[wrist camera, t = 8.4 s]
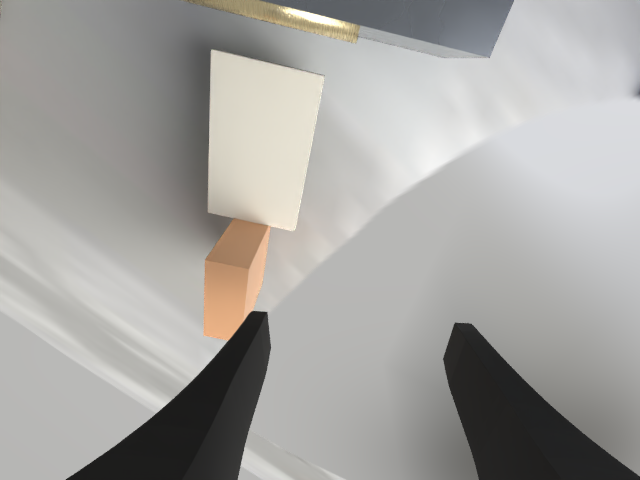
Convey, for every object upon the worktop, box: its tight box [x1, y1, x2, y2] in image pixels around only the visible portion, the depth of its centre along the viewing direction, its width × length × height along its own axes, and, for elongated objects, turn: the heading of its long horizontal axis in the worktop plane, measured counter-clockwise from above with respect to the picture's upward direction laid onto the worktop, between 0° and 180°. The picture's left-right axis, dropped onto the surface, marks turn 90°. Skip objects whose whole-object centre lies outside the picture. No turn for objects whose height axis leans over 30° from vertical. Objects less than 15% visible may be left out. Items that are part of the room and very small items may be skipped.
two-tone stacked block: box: [204, 49, 325, 340], centre depth 15 cm, size 5×13×5 cm, turn 168°
